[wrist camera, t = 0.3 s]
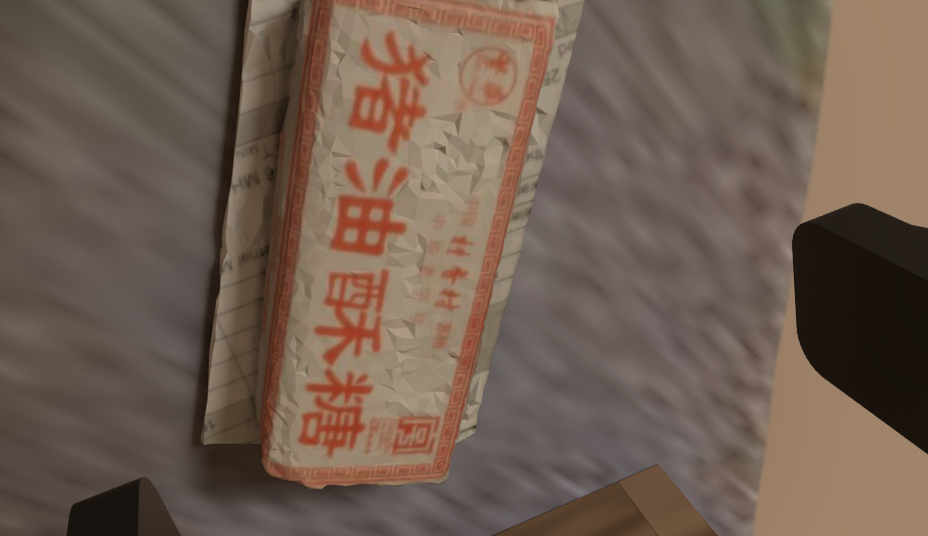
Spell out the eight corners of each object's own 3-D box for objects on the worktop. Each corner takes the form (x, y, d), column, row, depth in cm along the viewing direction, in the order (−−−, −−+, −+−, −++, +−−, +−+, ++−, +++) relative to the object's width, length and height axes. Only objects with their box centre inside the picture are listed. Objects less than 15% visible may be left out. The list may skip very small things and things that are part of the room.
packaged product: (505, 502, 30) (208, 518, 26) (460, 422, 34) (198, 426, 30) (655, -36, 23) (284, -119, 19) (577, -55, 27) (258, -127, 23)
